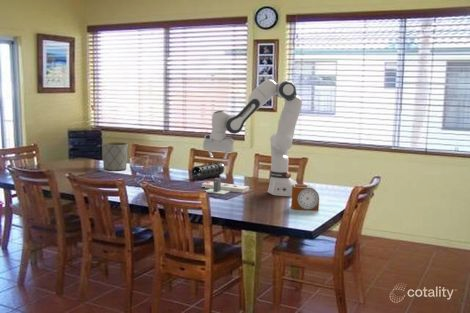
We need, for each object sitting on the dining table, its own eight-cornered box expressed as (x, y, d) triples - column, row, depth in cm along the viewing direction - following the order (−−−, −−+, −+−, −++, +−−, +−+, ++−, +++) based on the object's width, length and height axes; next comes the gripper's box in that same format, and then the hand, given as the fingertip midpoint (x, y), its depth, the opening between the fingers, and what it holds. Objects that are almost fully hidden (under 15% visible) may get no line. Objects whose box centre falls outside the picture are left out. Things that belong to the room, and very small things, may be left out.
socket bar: (249, 190, 349) (249, 185, 349) (242, 192, 340) (242, 188, 340) (208, 185, 362) (208, 180, 361) (201, 187, 353) (201, 182, 352)
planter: (132, 169, 410) (132, 144, 407) (112, 172, 396) (112, 145, 393) (117, 166, 423) (117, 141, 420) (97, 168, 408) (97, 143, 406)
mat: (229, 192, 341) (229, 191, 341) (223, 194, 333) (223, 193, 333) (210, 189, 347) (210, 188, 347) (203, 191, 339) (203, 191, 339)
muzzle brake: (190, 179, 380) (191, 165, 379) (215, 174, 403) (215, 161, 401) (201, 181, 375) (201, 166, 373) (225, 176, 397) (225, 162, 396)
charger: (220, 190, 341) (220, 178, 340) (217, 192, 337) (218, 179, 336) (216, 190, 342) (216, 178, 341) (213, 191, 339) (213, 179, 338)
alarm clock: (292, 209, 300) (293, 186, 298) (290, 206, 308) (292, 183, 306) (318, 210, 300) (320, 187, 298) (316, 207, 308) (317, 184, 307)
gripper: (235, 137, 333) (235, 158, 335) (206, 135, 342) (206, 156, 344) (231, 137, 328) (230, 160, 330) (202, 135, 336) (201, 157, 338)
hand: (218, 158), depth 337 cm, fingers open, 8 cm apart
